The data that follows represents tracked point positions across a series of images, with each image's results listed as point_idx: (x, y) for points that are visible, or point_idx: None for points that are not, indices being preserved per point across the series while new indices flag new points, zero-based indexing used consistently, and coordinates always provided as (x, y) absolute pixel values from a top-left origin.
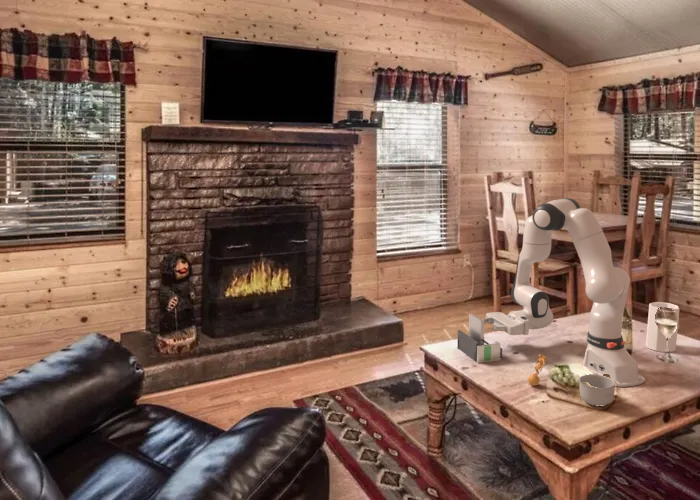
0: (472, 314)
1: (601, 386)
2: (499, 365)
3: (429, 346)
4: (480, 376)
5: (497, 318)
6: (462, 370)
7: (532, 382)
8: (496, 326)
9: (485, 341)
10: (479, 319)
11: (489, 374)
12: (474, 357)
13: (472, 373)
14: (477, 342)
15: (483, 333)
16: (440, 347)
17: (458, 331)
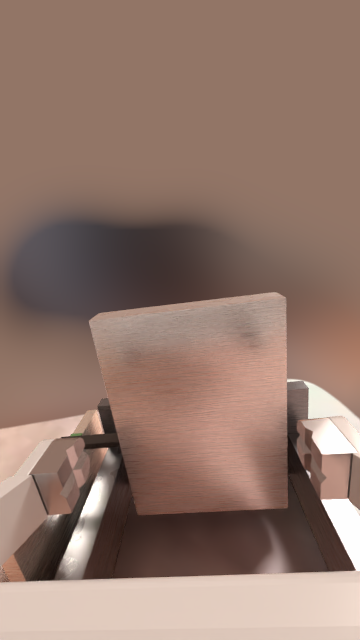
0: (250, 298)
1: None
2: (3, 574)
3: (311, 388)
4: (27, 441)
5: (258, 625)
6: (98, 414)
7: None
8: (37, 456)
9: (87, 441)
10: (125, 310)
11: (5, 472)
12: None
13: (61, 429)
14: (103, 404)
15: (113, 409)
16: None
17: (292, 384)
